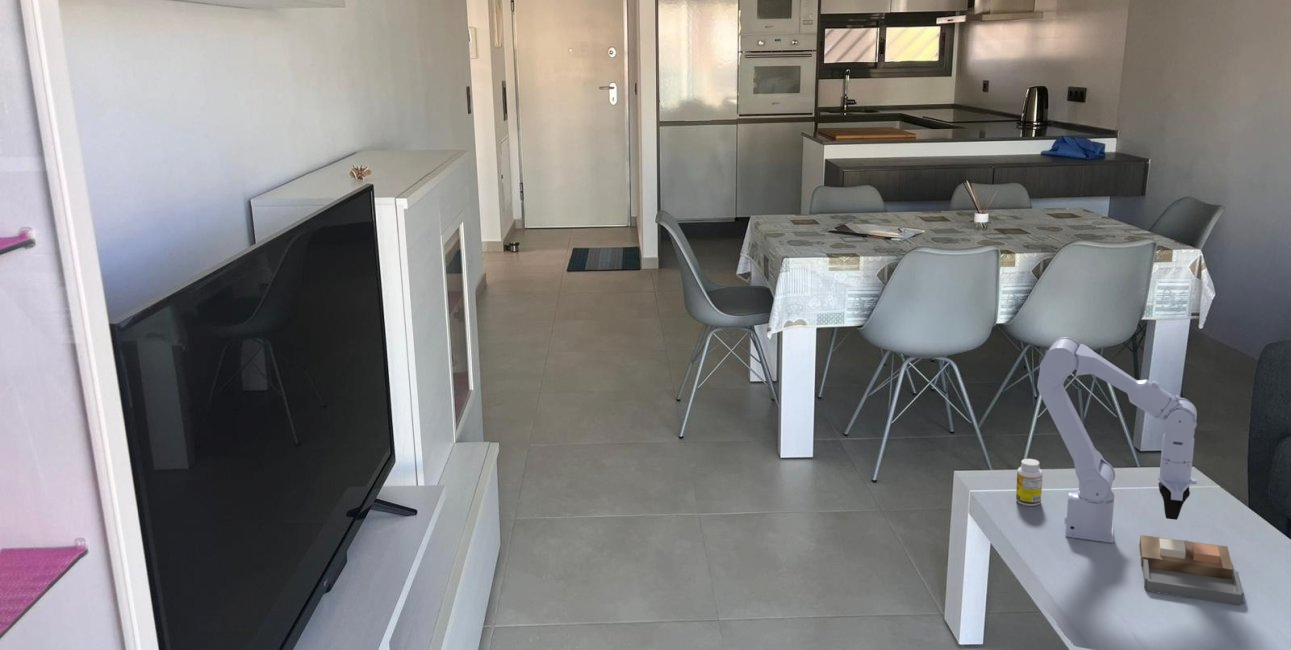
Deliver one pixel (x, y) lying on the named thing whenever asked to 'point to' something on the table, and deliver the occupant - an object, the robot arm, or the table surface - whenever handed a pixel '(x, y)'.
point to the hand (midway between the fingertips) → (1171, 517)
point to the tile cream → (1172, 548)
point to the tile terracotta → (1205, 553)
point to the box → (1193, 585)
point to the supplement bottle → (1029, 483)
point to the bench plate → (1187, 565)
